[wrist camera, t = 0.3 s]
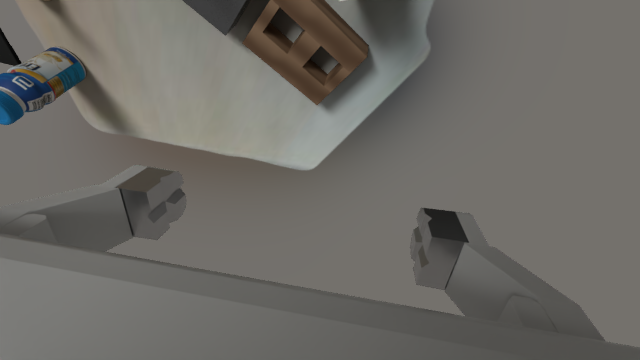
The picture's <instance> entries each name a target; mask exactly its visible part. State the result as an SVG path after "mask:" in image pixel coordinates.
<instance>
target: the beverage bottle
mask: <svg viewBox="0 0 640 360" xmlns="http://www.w3.org/2000/svg"><path fill="white" fill-rule="evenodd" d="M85 76H86V71H85V68H84V66H83V64H82V63H81V61H80V60H79V59H78V58H77V57H76V56H75V55H73V54H72V53H71V52H69V51H68V50H66V49H63V48H60V47H51V48H49V49H47V50H46V51H44V52H42V53H41V54H39V55H37V56H35V57H33V58H31V59H29V60H27V61H25V62H23V63H21V64H19V65H16V66H14V67H11V68H10V69H9V70H8V71H7V73H2V74H0V124H3V125H9V124H12V123H14V122H15V121H17V120H18V119H20V118H21V117H22V116H23V115H24V113H25V112H33V111H37V110H40V109H42V108H43V107H44V105H47V104H50V103H52V102H53V101H54V100H55V99H56V98H58V97H59V96H60V95H62V94H63V93H65V92H66V91H67V90H69V89H70V88H72V87H73V86H75V85H76V84H77V83H79V82H81V81H82V80H83V79H84V78H85Z"/></svg>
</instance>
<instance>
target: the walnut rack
mask: <svg viewBox="0 0 640 360" xmlns="http://www.w3.org/2000/svg"><path fill="white" fill-rule="evenodd" d="M279 8H281V9H282V10H283V11H284V12H286V13H287V14H288V15H289V16H290V17H291V18H292V19H293V20H294V21H295V22H296V23H297V24H298V25H299V26H300V27H301V28H303V29H304V30H303V31H302V33H301V34H300V35H299V37H298V38H297V39H296V40H295V42H294V43H292V42H291V41H290V40H289V39H288V38H287V37H286V36H285V35H284V34H282V33H281V32H280V31H279V30H278V29H277V28H276V27H275V26H274V25H272V24H271V23H270V22H271V20H272V19H273V17H274V16H275V14H276V13H277V11H278V10H279ZM243 44H244V45H245V46H246V47H247V48H249V49H250V50H251V51H252V52H253V53H255V54H256V55H257V56H258V57H259V58H261V59H262V60H263V61H264V62H265V63H267V64H268V65H269V66H270V67H272V68H273V69H274V70H275V71H276V72H278V73H279V74H280V75H281V76H282V77H284V78H285V79H286V80H287V81H288V82H290V83H291V84H292V85H293V86H294V87H296V88H297V89H298V90H299V91H300V92H302V93H303V94H304V95H305V96H306V97H308V98H309V99H310V100H311V101H312V102H314V103H315V104H316V105H318V104H319V103H320V102H321V101H322V100H323V99H324V98H325V97H326V96H327V95H328V94H329V93H330V92H331V91H332V90H334V89H335V88H336V87H337V86H338V85H339V84H340V83H341V82H342V81H343V80H344V79H345V78H346V77H347V76H348V75H349V74H350V73H351V72H352V71H353V70H354V69H355V68H356V67H357V66H358V65H359V64H361V63H362V62H363V61H364V60H365V59H366V58H367V54H368V46H369V45H368V44H367V43H366V42H365V41H364V40H363V39H362V38H361V37H360V36H359V35H358V34H357V33H356V32H355V31H354V30H353V29H352V28H351V27H350V26H349V25H348V24H347V23H346V22H345V21H344V20H343V19H342V18H341V17H340V16H339V15H338V14H337V13H336V12H335V11H334V10H333V9H332V8H331V7H330V6H329V4H328V3H327V2H326V1H325V0H270V1H269V2H268V4H267V6H266V7H265V9H264V10H263V12H262V13H261V15H260V16H259V18H258V20H257V21H256V23H255V24H254V26H253V27H252V29H251V31H250V32H249V34H248V35H247V37H246V38H245V40H244V41H243ZM320 46H322V47H323V48H324V49H325V50H326V51H327V52H328V53H329V54H330V55H331V56H332V57H333V58H334V59H336V60H337V61H338V62H339V63H338V64H337V65H336V66H335V67H334V68H333V69H332V70H331V71H330V72H329V73H328V74H327V73H326V72H325V71H324V70H322V69H321V68H320V67H319V66H318V65H317V64H316V63H315V62H314V61H312V60H311V59H310V58H311V56H312V55H313V54H314V53H315V52H316V51H317V50H318V48H319V47H320Z"/></svg>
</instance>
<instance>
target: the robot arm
mask: <svg viewBox="0 0 640 360" xmlns="http://www.w3.org/2000/svg"><path fill="white" fill-rule="evenodd" d="M182 185H183V178H182V175H181V174H180V173H179V172H178V171H172V170H166V169H160V168H154V167H149V166H141V165H134V166H132V167H130V168H129V169H127V170H125V171H123V172H122V173H120V174H118V175H117V176H115V177H113V178H111V179H110V180H108V181H106V182H105V183H103V184H101V185H92V186H88V187H84V188H80V189H75V190H71V191H67V192H62V193H58V194H54V195H49V196H45V197H41V198H37V199H32V200H28V201H24V202H19V203H15V204H11V205H7V206H2V207H0V360H640V348H639V347H634V346H628V345H623V344H617V343H611V342H606V341H605V340H604V338H603V337H602V336H601V334H600V333H599V332H598V330H597V329H596V327H595V326H594V325H593V323H592V322H591V321H590V319H589V318H588V317H587V315H586V314H585V313H584V311H583V310H582V308H581V307H580V306H579V305H578V304H577V303H575V302H574V301H572V300H571V299H569V298H568V297H566V296H565V295H563V294H562V293H561V292H559V291H558V290H556V289H555V288H553V287H552V286H550V285H549V284H548V283H546V282H545V281H543V280H542V279H540V278H539V277H537V276H536V275H534V274H533V273H532V272H530V271H528V270H527V269H526V268H524V267H523V266H521V265H520V264H519V263H517V262H516V261H514V260H512V259H511V258H510V257H508V256H507V255H505V254H504V253H503V252H501V251H500V250H498V249H497V248H495V247H491V246H489V244H488V243H487V241H486V239H485V237H484V235H483V233H482V232H481V230H480V228H479V226H478V224H477V222H476V221H475V219H474V217H473V215H471V214H470V213H461V212H453V211H445V210H436V209H428V208H421V209H420V211H419V213H418V216H417V222H418V227H417V228H415V229H414V230H413V234H412V238H411V246H410V249H411V258H412V259H413V260H414V261H415V264H414V267H413V270H414V275H415V281H416V284H417V285H422V286H426V287H431V288H436V289H441V290H445V292H446V294H447V295H448V296H449V297H450V298H451V300H452V301H453V302H454V303H455V304H456V305H457V307H458V308H459V309H460V310H461V311H462V313H463V314H464V315H465V316H461V315H455V314H450V313H444V312H438V311H433V310H428V309H422V308H416V307H411V306H405V305H400V304H394V303H388V302H382V301H377V300H371V299H366V298H360V297H355V296H349V295H343V294H338V293H332V292H327V291H321V290H316V289H310V288H304V287H299V286H293V285H288V284H282V283H276V282H271V281H265V280H260V279H254V278H249V277H243V276H238V275H231V274H226V273H221V272H215V271H210V270H204V269H199V268H193V267H187V266H182V265H176V264H170V263H165V262H160V261H154V260H148V259H142V258H137V257H132V256H126V255H120V254H115V253H109V252H105V251H107V250H109V249H111V248H113V247H115V246H117V245H119V244H121V243H123V242H125V241H127V240H129V239H131V238H133V237H139V238H147V239H154V240H158V239H159V238H160V237H161V236H162V235H163V234H164V233H165V232H166V231H167V230H168V229H169V228H170V223H171V222H173V221H176V220H178V219H179V218H180V217H181V215H182V214H183V212H184V210H185V207H186V196H185V193H184V192H183V191H182V190H181V189H180V188H181V186H182Z"/></svg>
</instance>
